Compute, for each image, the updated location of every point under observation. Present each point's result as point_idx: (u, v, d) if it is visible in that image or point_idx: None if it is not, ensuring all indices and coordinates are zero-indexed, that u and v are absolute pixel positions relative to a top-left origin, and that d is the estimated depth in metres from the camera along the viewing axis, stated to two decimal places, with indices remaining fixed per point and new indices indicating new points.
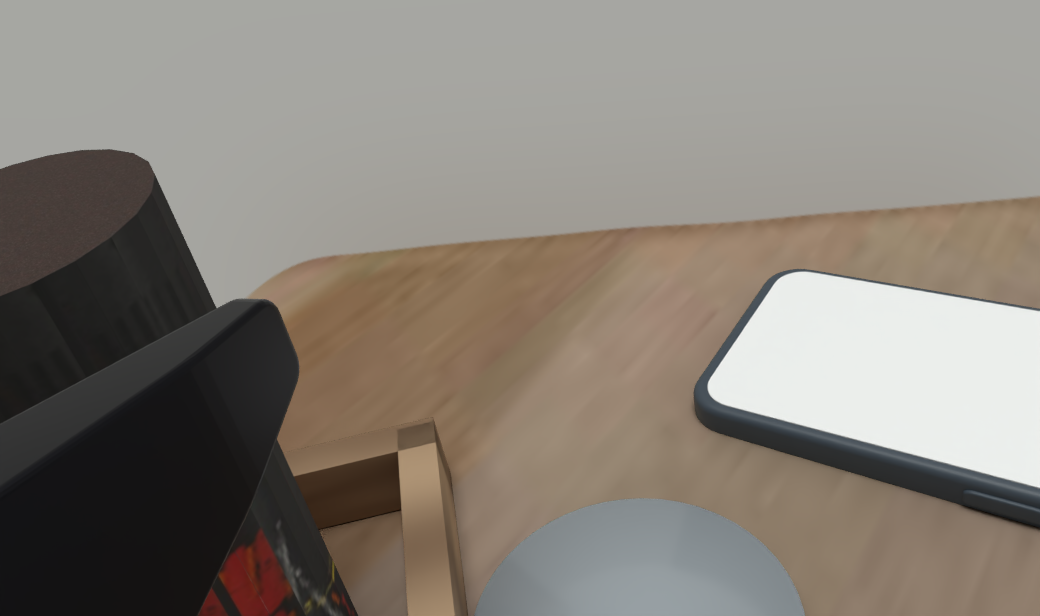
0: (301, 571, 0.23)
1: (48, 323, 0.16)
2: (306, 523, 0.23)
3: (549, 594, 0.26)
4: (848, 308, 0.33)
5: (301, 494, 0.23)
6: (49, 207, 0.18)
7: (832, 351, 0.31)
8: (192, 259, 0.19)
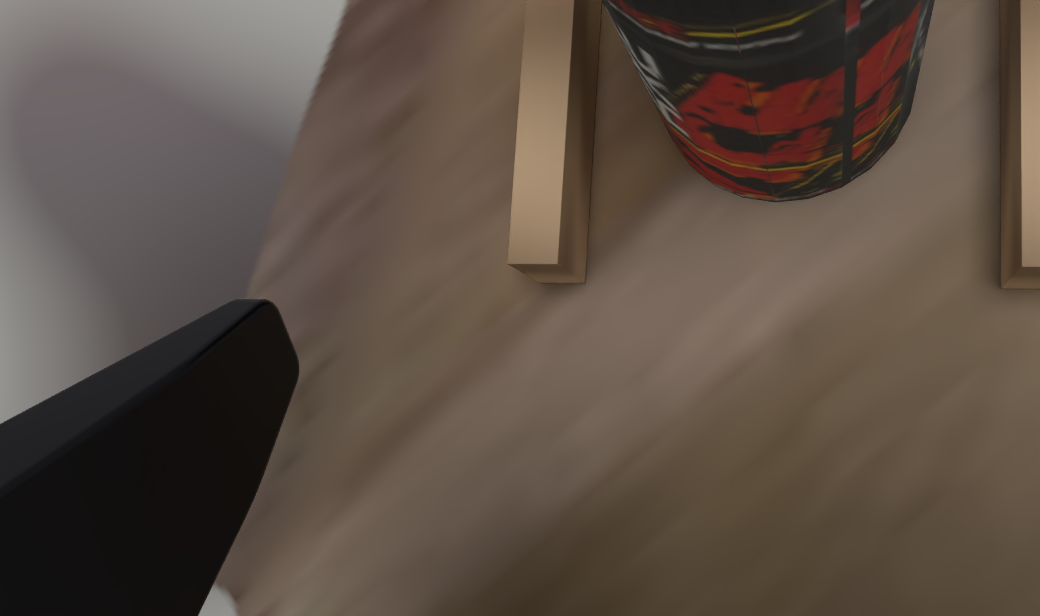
0: (924, 29, 0.17)
1: None
2: None
3: None
4: None
5: None
6: None
7: None
8: None
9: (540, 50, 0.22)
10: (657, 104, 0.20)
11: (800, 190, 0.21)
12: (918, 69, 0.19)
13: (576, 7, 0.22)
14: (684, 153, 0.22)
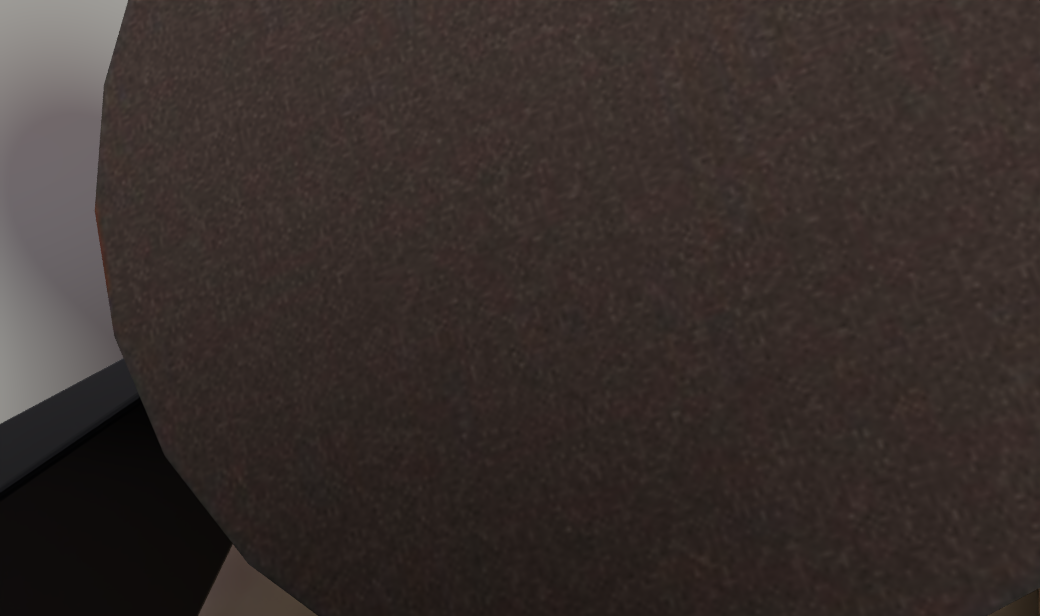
0: None
1: None
2: None
3: None
4: None
5: None
6: (776, 17, 0.04)
7: None
8: None
9: None
10: None
11: None
12: None
13: None
14: None
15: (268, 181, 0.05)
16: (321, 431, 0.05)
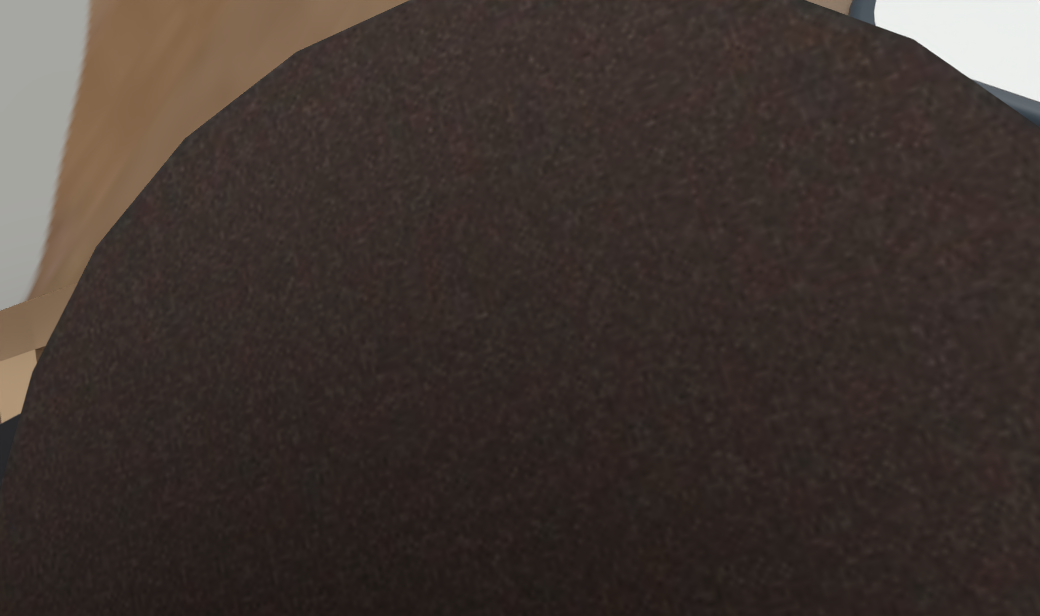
0: None
1: None
2: None
3: None
4: None
5: None
6: (716, 578, 0.04)
7: None
8: None
9: None
10: None
11: None
12: None
13: None
14: None
15: None
16: None
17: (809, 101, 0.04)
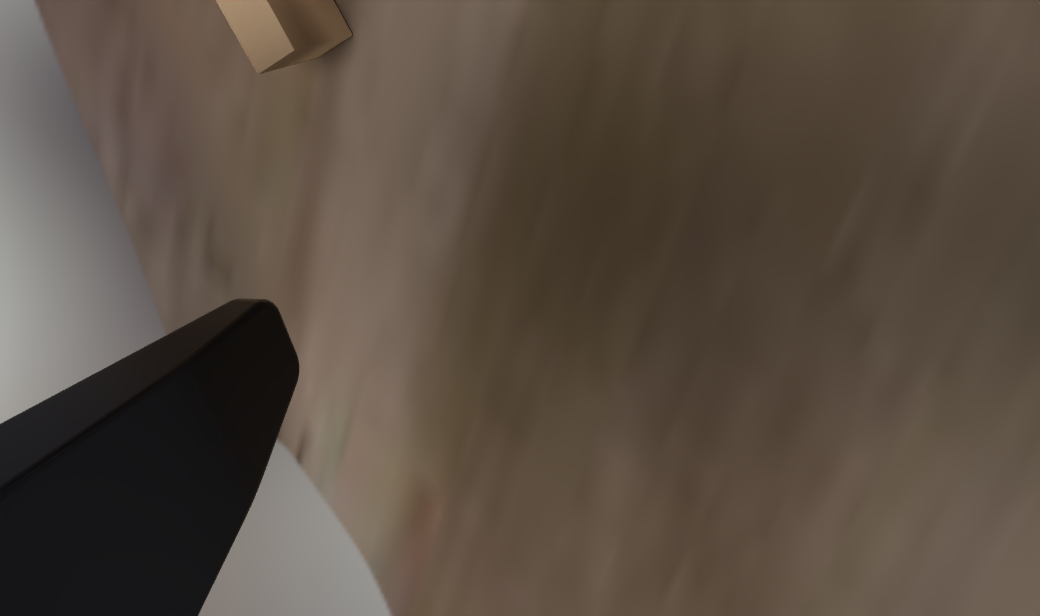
0: None
1: None
2: None
3: None
4: None
5: None
6: None
7: None
8: None
9: None
10: None
11: None
12: None
13: None
14: None
15: None
16: None
17: None
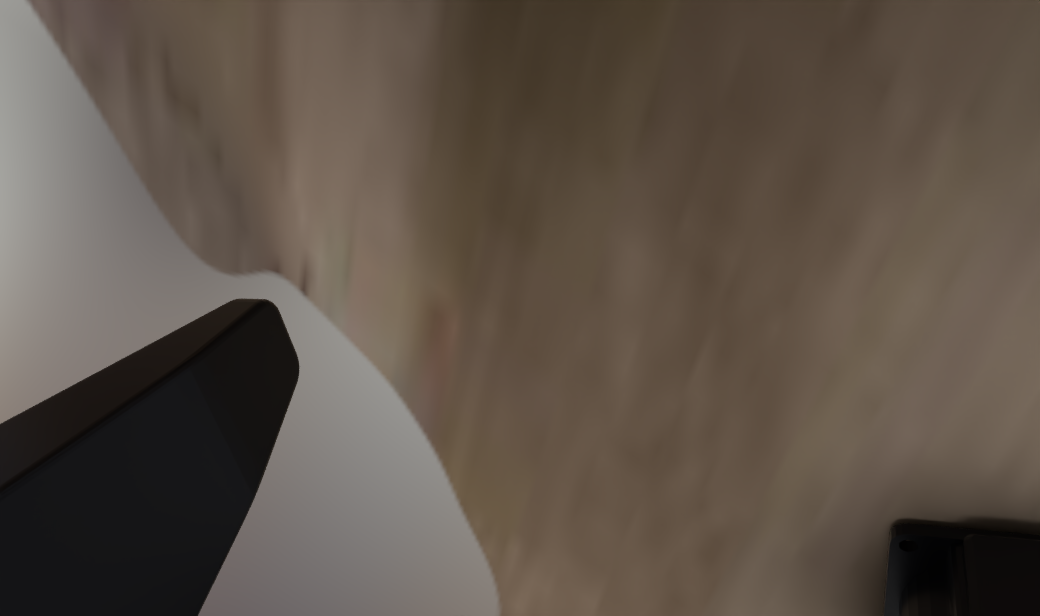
0: None
1: None
2: None
3: None
4: None
5: None
6: None
7: None
8: None
9: None
10: None
11: None
12: None
13: None
14: None
15: None
16: None
17: None
